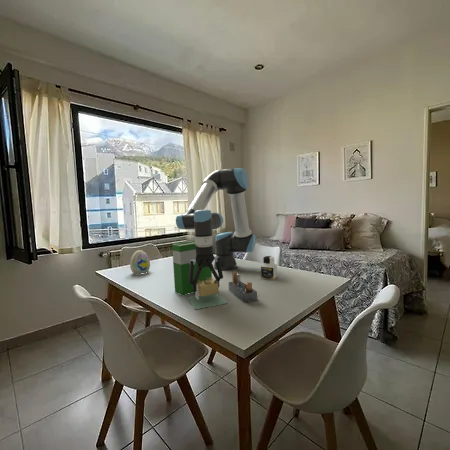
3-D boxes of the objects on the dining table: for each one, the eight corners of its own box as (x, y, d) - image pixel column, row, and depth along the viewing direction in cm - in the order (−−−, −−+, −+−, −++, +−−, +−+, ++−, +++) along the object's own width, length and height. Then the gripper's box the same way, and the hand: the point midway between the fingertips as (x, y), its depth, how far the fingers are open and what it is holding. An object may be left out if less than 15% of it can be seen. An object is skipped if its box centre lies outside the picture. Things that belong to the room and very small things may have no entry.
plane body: (228, 290, 125) (228, 271, 124) (239, 288, 127) (239, 270, 126) (245, 303, 108) (244, 282, 108) (257, 300, 111) (256, 279, 110)
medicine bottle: (261, 278, 141) (260, 257, 140) (265, 275, 148) (264, 254, 146) (273, 280, 138) (273, 258, 137) (277, 276, 144) (276, 255, 143)
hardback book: (204, 283, 137) (201, 239, 135) (212, 286, 132) (210, 240, 130) (175, 291, 126) (172, 244, 124) (182, 295, 120) (179, 245, 118)
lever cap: (194, 289, 115) (193, 277, 115) (211, 286, 118) (210, 275, 118) (200, 296, 106) (200, 284, 106) (218, 293, 109) (218, 281, 109)
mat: (187, 298, 117) (187, 297, 116) (216, 293, 122) (216, 292, 122) (195, 310, 104) (195, 309, 104) (227, 303, 109) (227, 302, 109)
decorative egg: (135, 277, 156) (133, 252, 154) (127, 273, 165) (126, 250, 163) (153, 272, 163) (152, 249, 162) (146, 269, 173) (144, 247, 171)
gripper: (182, 249, 103) (185, 303, 105) (229, 244, 110) (231, 295, 112) (178, 246, 110) (181, 297, 112) (223, 242, 117) (225, 289, 119)
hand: (206, 296), depth 112 cm, fingers closed on lever cap, 8 cm apart
